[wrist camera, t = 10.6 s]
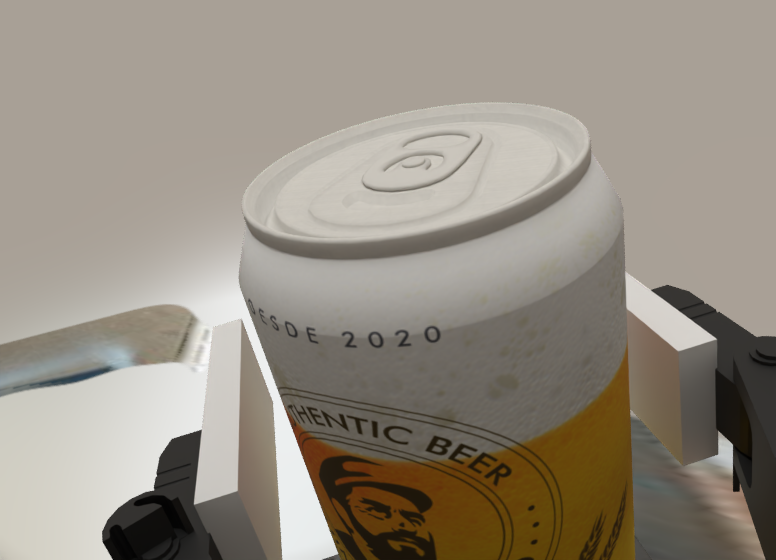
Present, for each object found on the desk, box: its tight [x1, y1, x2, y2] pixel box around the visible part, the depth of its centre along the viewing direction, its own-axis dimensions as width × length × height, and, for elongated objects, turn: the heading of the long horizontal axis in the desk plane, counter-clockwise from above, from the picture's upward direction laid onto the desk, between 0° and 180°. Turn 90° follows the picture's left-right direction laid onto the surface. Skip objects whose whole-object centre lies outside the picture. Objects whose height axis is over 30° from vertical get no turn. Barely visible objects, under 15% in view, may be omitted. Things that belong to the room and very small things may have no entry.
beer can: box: [239, 102, 635, 560], centre depth 14 cm, size 6×6×15 cm
